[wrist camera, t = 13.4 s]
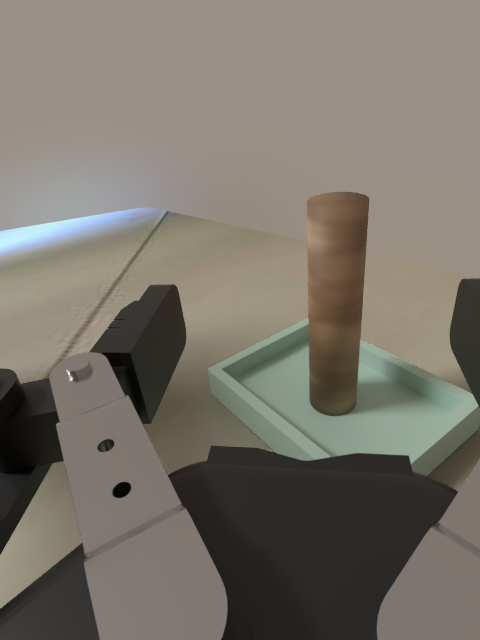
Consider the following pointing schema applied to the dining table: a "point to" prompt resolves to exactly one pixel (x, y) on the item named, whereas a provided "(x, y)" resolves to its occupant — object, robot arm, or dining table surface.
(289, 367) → the tray
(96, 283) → the dining table surface
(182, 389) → the dining table surface
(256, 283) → the dining table surface
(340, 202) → the dowel
